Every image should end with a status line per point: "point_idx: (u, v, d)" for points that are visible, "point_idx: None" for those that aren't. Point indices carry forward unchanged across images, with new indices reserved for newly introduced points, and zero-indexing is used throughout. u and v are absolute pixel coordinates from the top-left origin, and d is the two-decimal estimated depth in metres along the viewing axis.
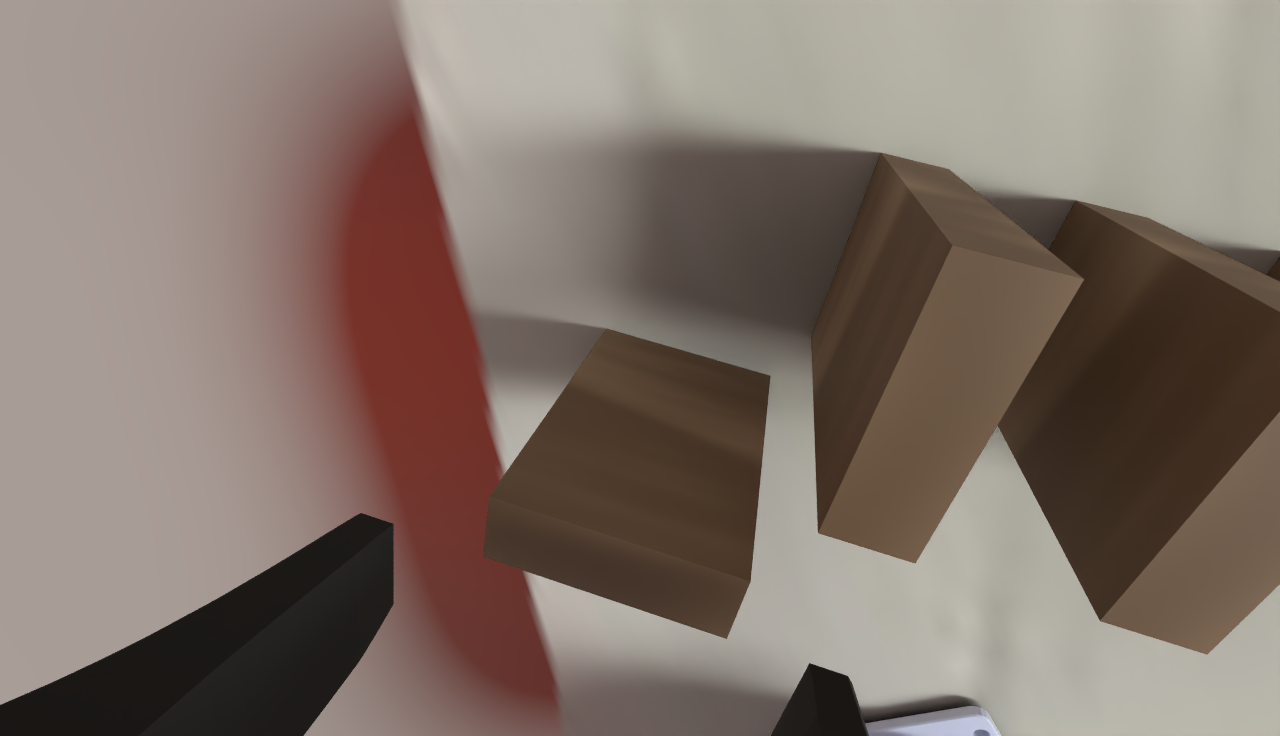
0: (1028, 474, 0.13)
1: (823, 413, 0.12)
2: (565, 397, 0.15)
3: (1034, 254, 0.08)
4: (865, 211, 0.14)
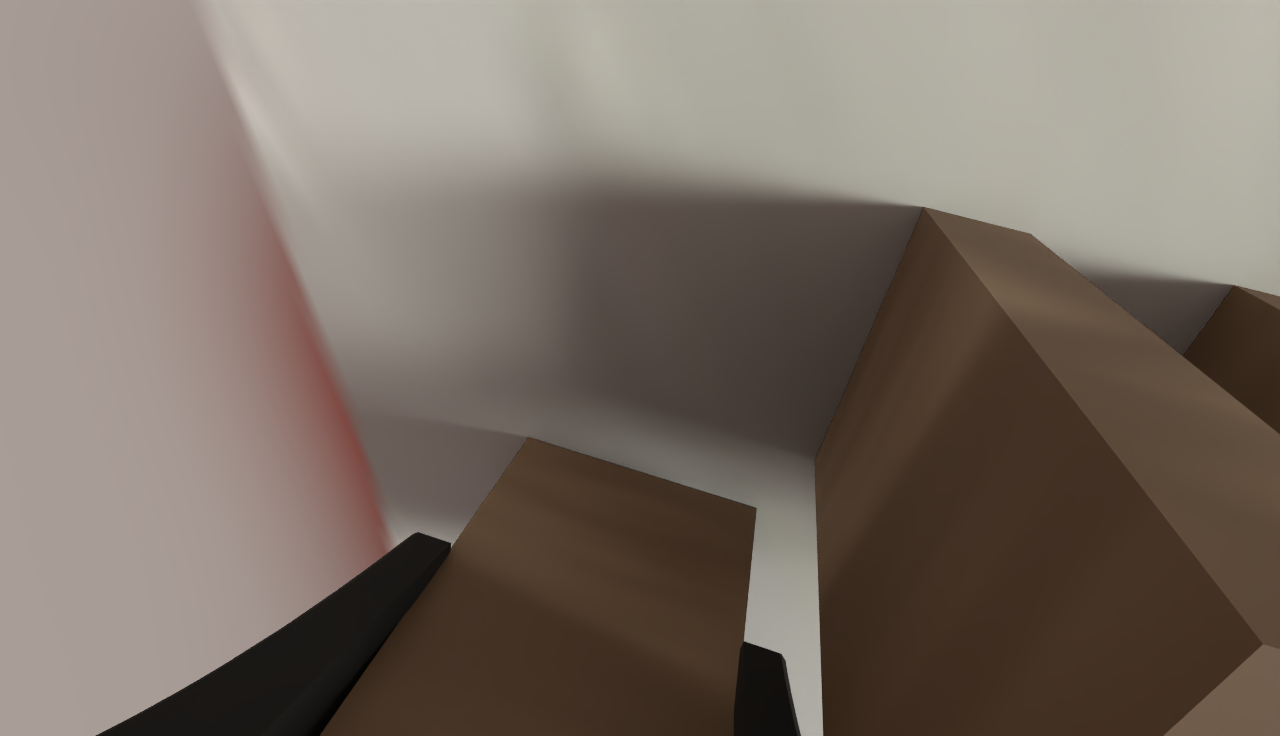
0: None
1: (837, 670, 0.07)
2: (435, 584, 0.10)
3: None
4: (900, 300, 0.09)
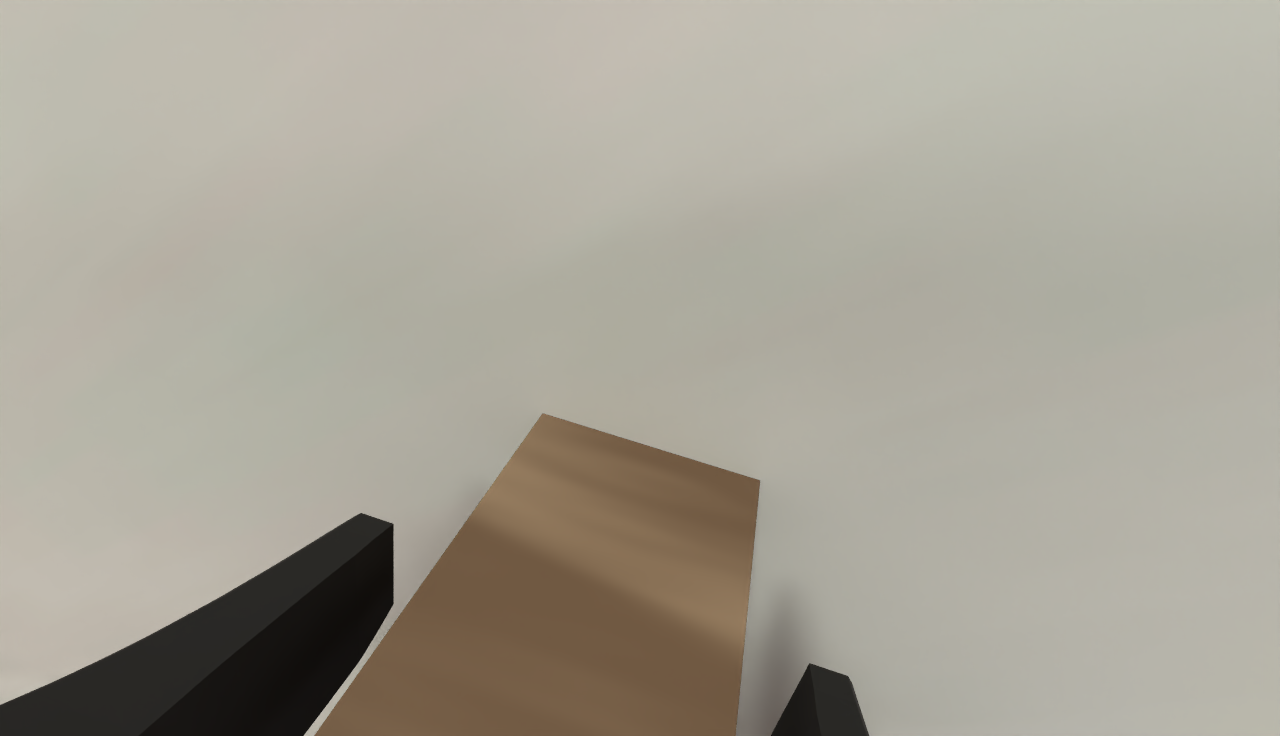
0: None
1: None
2: (460, 543, 0.10)
3: None
4: None
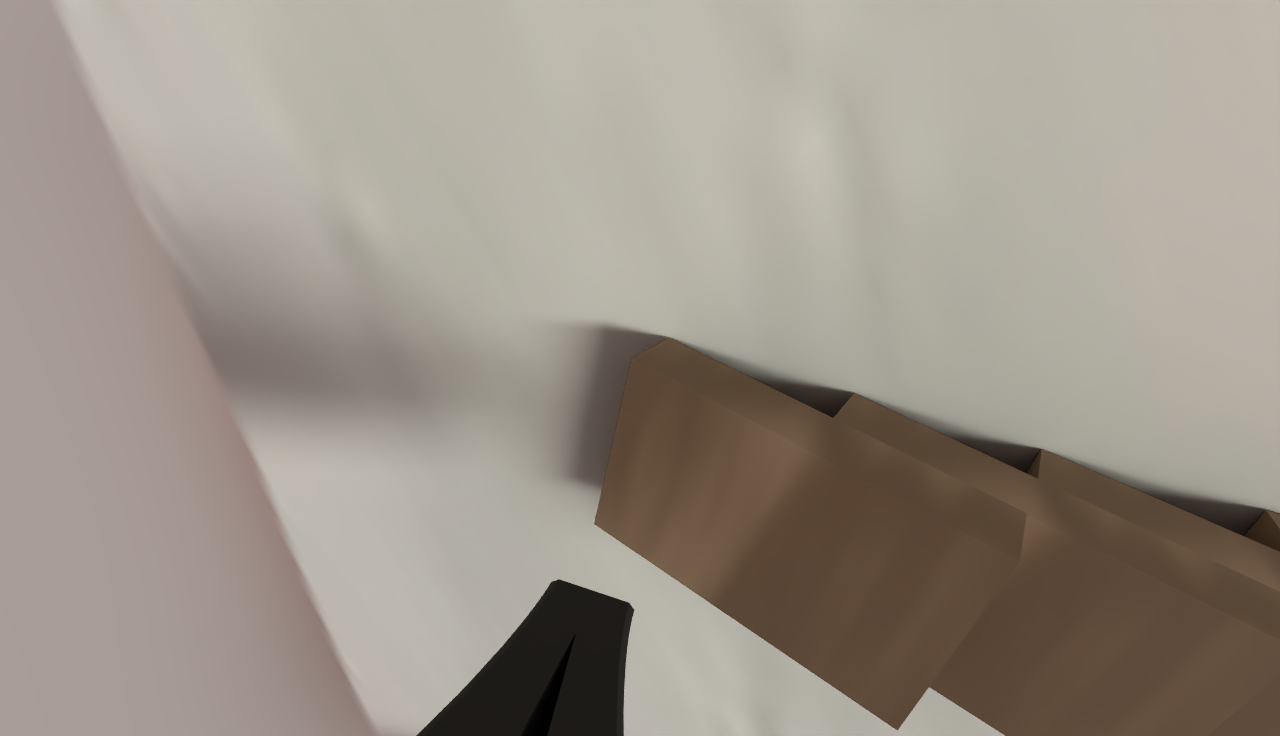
0: (935, 685, 0.14)
1: (774, 626, 0.14)
2: None
3: (985, 503, 0.11)
4: (656, 423, 0.14)
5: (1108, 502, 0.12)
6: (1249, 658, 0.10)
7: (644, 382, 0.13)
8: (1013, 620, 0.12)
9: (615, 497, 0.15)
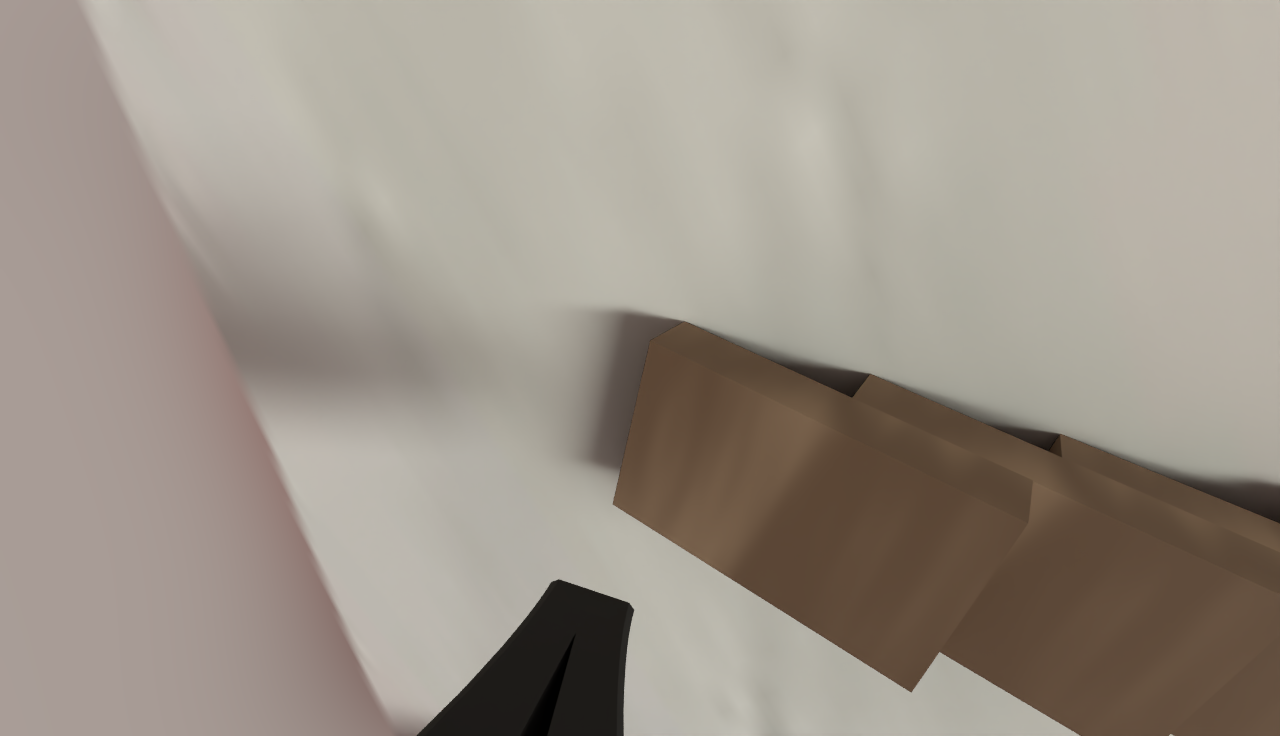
0: (953, 654, 0.14)
1: (791, 596, 0.14)
2: None
3: (993, 471, 0.12)
4: (674, 403, 0.14)
5: (1128, 484, 0.13)
6: (1256, 615, 0.11)
7: (662, 364, 0.14)
8: (1029, 588, 0.13)
9: (633, 477, 0.16)
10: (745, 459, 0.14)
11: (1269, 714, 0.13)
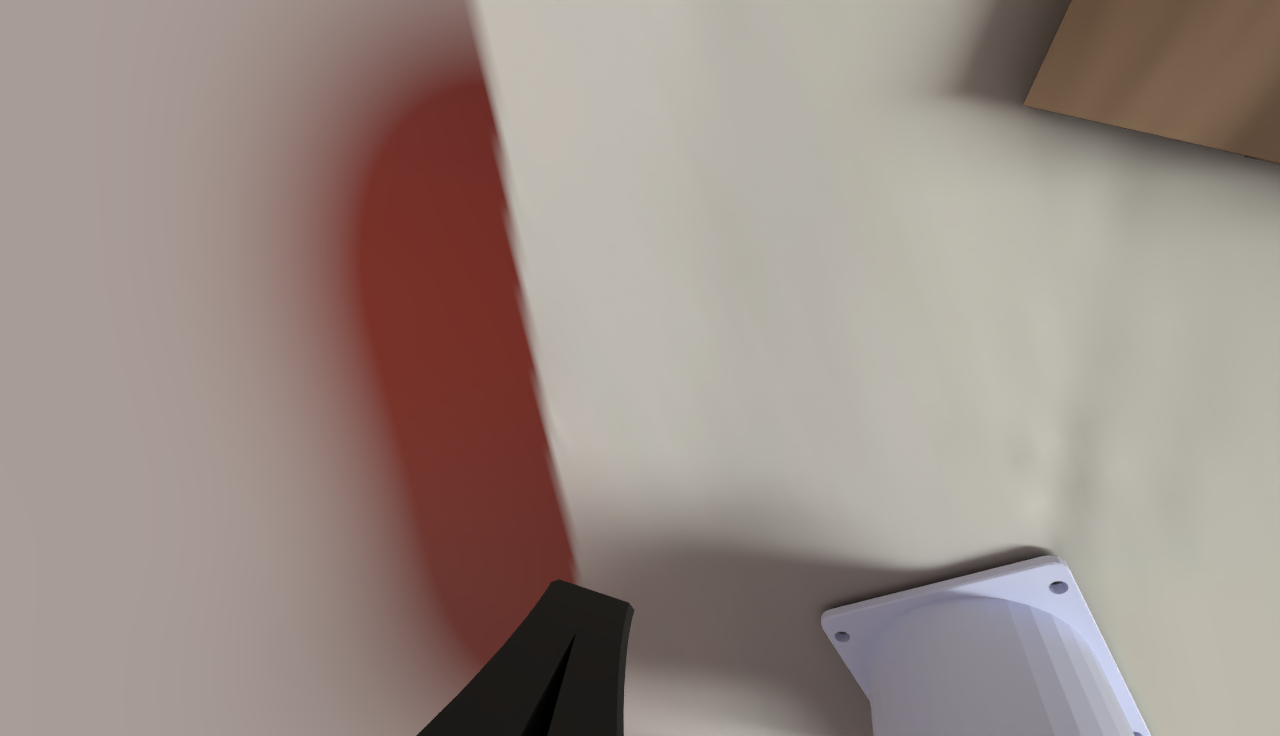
0: None
1: None
2: None
3: None
4: None
5: None
6: None
7: None
8: None
9: (1075, 46, 0.12)
10: None
11: None
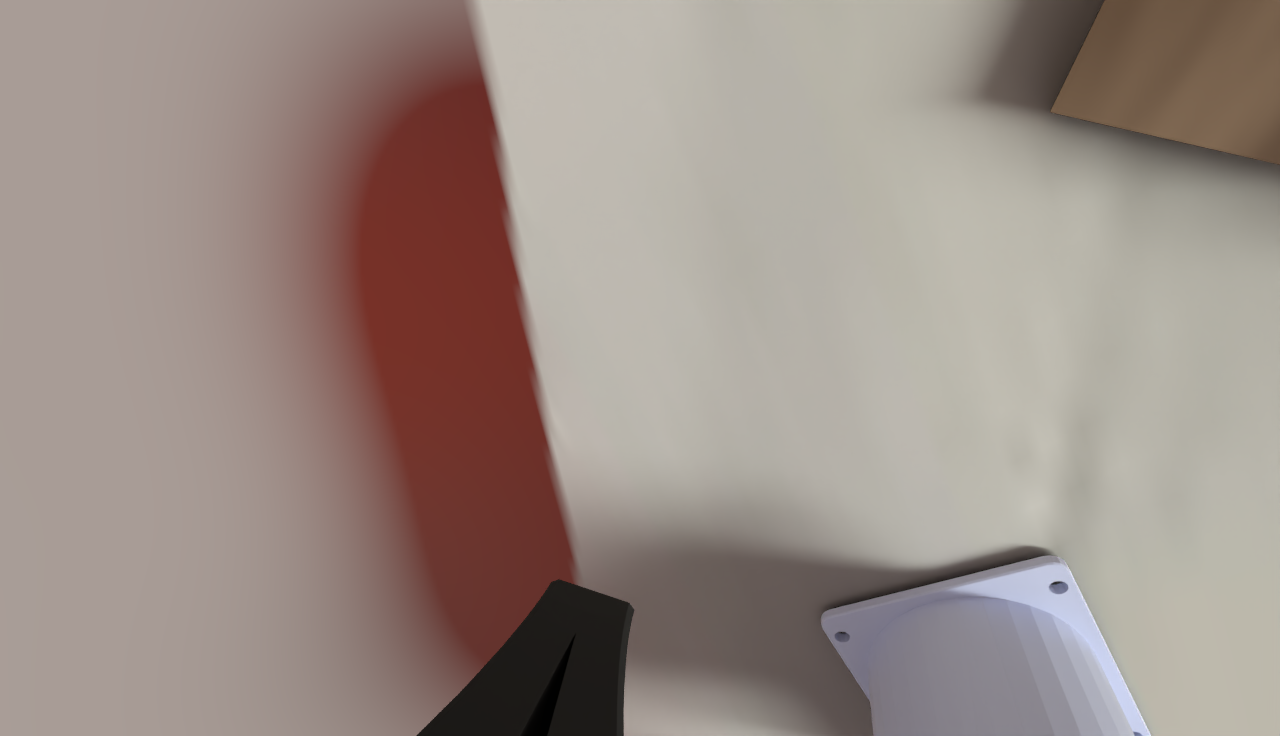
0: None
1: None
2: None
3: None
4: None
5: None
6: None
7: None
8: None
9: (1104, 53, 0.12)
10: None
11: None
